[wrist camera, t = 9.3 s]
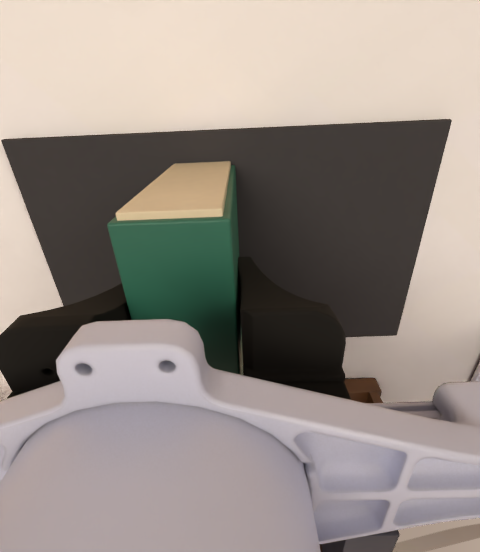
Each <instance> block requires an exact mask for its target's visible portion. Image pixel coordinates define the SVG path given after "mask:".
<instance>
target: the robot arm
mask: <svg viewBox="0 0 480 552" xmlns="http://www.w3.org/2000/svg"><path fill="white" fill-rule="evenodd" d="M238 282H239V303H240V323H241V333H242V353H243V375H240V374H235V373H231V372H226V371H222V370H218V369H214V368H212V367H211V366H209V365H208V363H207V361H206V358H205V352H204V344H203V341H202V339H201V337H200V335H199V333H198V331H197V330H196V329H194V328H193V327H191V326H190V325H188V324H187V323H185V322H182V321H177V320H171V319H152V320H131V316H130V313H129V309H128V305H127V301H126V297H125V293H124V289H123V285H122V283H121V284H119V285H117V286H115V287H113V288H111V289H109V290H107V291H105V292H103V293H101V294H98V295H96V296H93V297H90V298H88V299H85V300H82V301H80V302H77V303H73V304H70V305H67V306H63V307H59V308H56V309H51V310H47V311H42V312H37V313H32V314H27V315H21V316H19V317H18V318H17V319H16V320H15V321H14V322H13V323H12V324H11V325H10V326H9V327H8V328H7V329H6V330H5V331H4V332H3V333H2V334H1V335H0V370H1V372H2V374H3V375H4V377H5V379H6V381H7V383H8V384H9V386H10V388H11V390H12V393H11V394H10V395H9V396H8V398H7V399H5V400H2V401H0V552H321V550H320V545H319V544H325V543H330V542H336V541H341V540H346V539H352V538H357V537H363V536H368V535H373V534H379V533H384V532H390V531H395V530H400V529H406V528H411V527H417V526H423V525H429V524H435V523H441V522H447V521H457V520H467V519H476V518H480V361H479V364H478V366H477V368H476V370H475V373H474V375H473V377H472V379H471V382H448V383H444V384H442V385H440V386H438V388H437V389H436V390H435V393H434V395H433V401H430V402H397V403H362V402H357V401H353V400H351V398H350V395H349V393H348V390H347V388H346V385H345V383H344V381H345V373H344V371H343V368H342V363H343V357H344V351H345V344H346V338H345V333H344V330H343V328H342V325H341V323H340V321H339V319H338V318H337V316H336V315H335V313H334V312H333V310H332V309H331V308H330V306H329V305H328V304H324V303H319V302H315V301H310V300H307V299H304V298H301V297H299V296H296V295H294V294H292V293H290V292H288V291H286V290H284V289H283V288H281V287H279V286H278V285H276V284H275V283H274V282H272V281H271V280H270V279H269V278H268V277H267V276H266V275H265V274H264V273H263V272H262V271H261V270H260V269H259V267H258V266H257V265H256V263H255V262H254V260H253V259H252V258H251V257H238Z"/></svg>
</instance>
